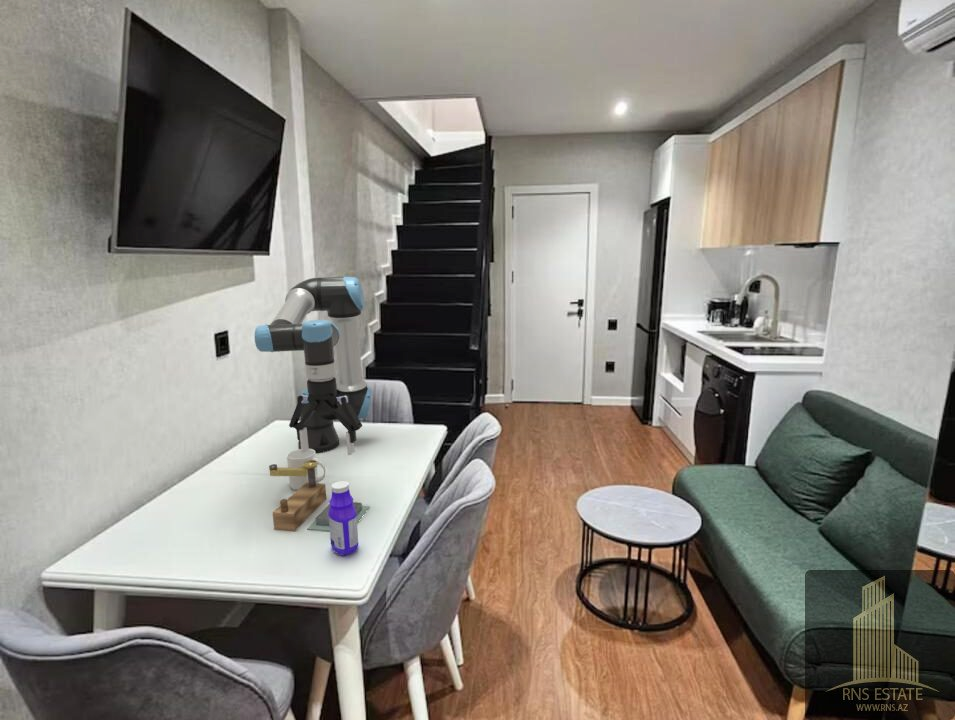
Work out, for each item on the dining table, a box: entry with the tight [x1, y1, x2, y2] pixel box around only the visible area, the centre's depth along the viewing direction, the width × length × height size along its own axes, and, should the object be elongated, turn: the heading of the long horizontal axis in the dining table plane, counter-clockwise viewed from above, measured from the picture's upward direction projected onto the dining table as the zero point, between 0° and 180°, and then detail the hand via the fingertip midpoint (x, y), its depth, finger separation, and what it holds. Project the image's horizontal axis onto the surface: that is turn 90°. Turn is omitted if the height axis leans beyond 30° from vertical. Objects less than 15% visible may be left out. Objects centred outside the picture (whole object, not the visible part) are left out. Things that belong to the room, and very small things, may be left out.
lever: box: [268, 460, 318, 477], centre depth 147 cm, size 14×4×4 cm, turn 87°
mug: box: [286, 448, 326, 491], centre depth 158 cm, size 9×12×11 cm
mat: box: [307, 505, 371, 533], centre depth 139 cm, size 14×12×1 cm
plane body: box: [272, 468, 327, 532], centre depth 141 cm, size 18×6×11 cm, turn 170°
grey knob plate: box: [314, 501, 363, 526], centre depth 138 cm, size 10×9×3 cm
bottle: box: [328, 480, 359, 556], centre depth 122 cm, size 7×6×17 cm
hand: (327, 452), depth 139 cm, fingers open, 13 cm apart
